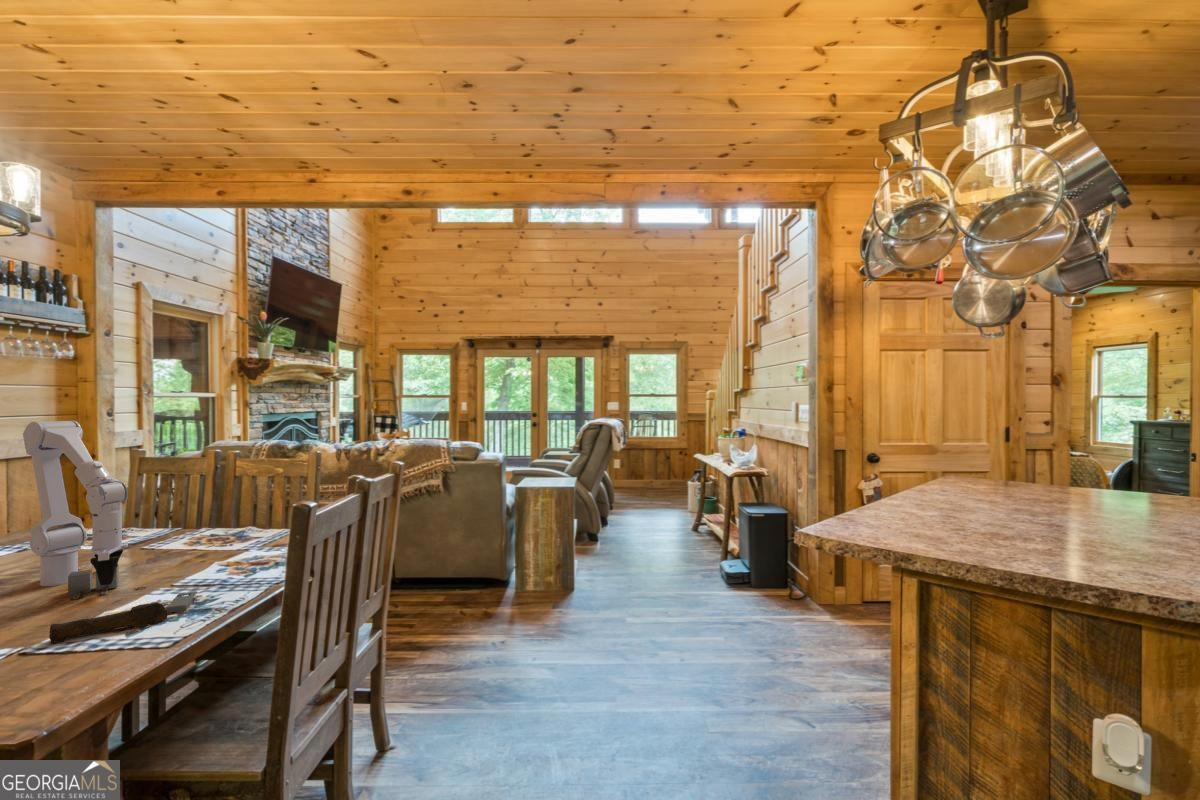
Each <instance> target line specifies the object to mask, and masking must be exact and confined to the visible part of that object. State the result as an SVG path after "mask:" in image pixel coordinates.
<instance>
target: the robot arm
mask: <svg viewBox="0 0 1200 800" xmlns="http://www.w3.org/2000/svg"><path fill="white" fill-rule="evenodd" d="M83 434H84V431H83V429H82V426H81V425H80V423H79V422H78V421H76V420H62V421H61V420H60V421H59V420H58V421H31V422H29V423H28V424H27V425H26V427H25V429H24V431H23V433H22V438H23V443H24V448H25V452H26V455H29V456H31V461H32V465H33V466H32V467H33V471H34V477H35V482H36V490H37V495H38V500H39V504H40V510H41V516H42V518H41V519H40V520H39V521H38V522H37V523H35V524H34V525H33V526H32V527H31V528H30V539H29V547H30V550H31V551H32V552H33V553H34V554H36V556H39V586H40V587H53V586H61V585H65V584H68V576H69V574H70V573H71V572H76V571H79V554H78V552H79V550H81V549H82V547H83V545H85V543H86V541H87V538H88V532H87V530H86V528H85V526H84V524H83V521H82V518H80V517H78V516H76V515H73V514H71V512H70V510H69V504H68V500H67V498H68V497H67V494H66V489H65V483H64V477H63V470H62V465H61V460H60V457H61V456H62V454H63V455H65V456H66V457H67V459H69V461H70V462H71V463H72V464H73V465H74V466H75V467H76V469H75V471H74V474H75V477H76V478H77V479H78V481H79V482H80V483H81V485H82V486H83V487H84V489H85V490H86V494H85V500H86V503H87V504H88V507H89V508H88V509H89V512H90V514H92V516H91V517H92V518H91V519H92V521H91V522H92V526H91V527H92V535H91V536H92V539H91V540H92V542H91V543H92V547H91V549H90V550H91V553H94V557H92V558H90V564H91V565H92V566H93V568H94V569H95V573H96V572H97V575H98V579H99V582H100V585H107V584H111V583H112V581H113V577H114V571H115V567H116V565H117V564H118V563H119V560H120V558H121V555H122V554H123V553H124V549H125V548H128V547H129V543H123V503H124V502H126V500H127V499H128V497H129V490H128V487H127V485H126V484H125V482H124V481H122V480H118V479H117V478H113V476H112V475H111V474H110V473H109V471H108V470H107V469H106V467H105V465H104V464H103V463H102V462H101V461H100V460H99V461H98V460H94V459H93V458H92V456H91V454H90V452H89V450H88V449H87V447H86V446H85V444H84V442H83V440H82V439H83ZM50 528H51V529H50ZM123 548H124V549H123Z"/></svg>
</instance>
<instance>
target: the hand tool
mask: <svg viewBox="0 0 1200 800" xmlns="http://www.w3.org/2000/svg"><path fill="white" fill-rule="evenodd" d="M165 620H168V614H167V610H166V607H165V605H163V604H162V603H159V602H155V601H154V602H150V603H145V604H139V605H136V606H133V607H131V608H130V610H127V611H122V612H117V613H111V614H106V615H101V616H97V617H92V618H82V619H81V618H80V619H79V620H72V621H67V622H63V623H52V624H50V626H49V633H48V635H49V637H48V638H49V641H50V643H51V645H52V643H53V644H55V643H56V642H64V641H65V640H68V639H73V638H77V637H82V636H86V635H87V636H88V635H92V634H97V633H98V634H99V633H103V632H107V631H112V630H117V629H121V628H129V627H130V628H132V627H133V629H136V628H135V627H138V628H140V627H139V626H142V627H146V626H145V625H147V626H149V625H148V624H150V625H153V624H152V623H154V624H157V623H160V622H162V621H165ZM156 622H157V623H156Z"/></svg>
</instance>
